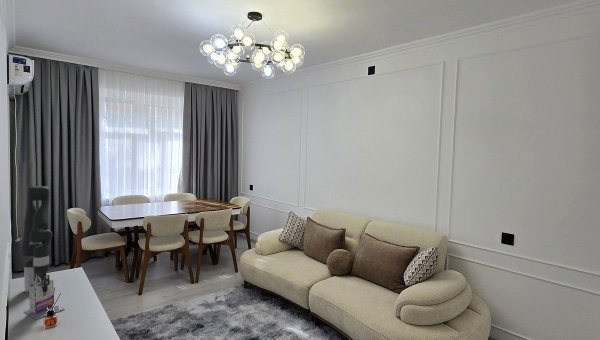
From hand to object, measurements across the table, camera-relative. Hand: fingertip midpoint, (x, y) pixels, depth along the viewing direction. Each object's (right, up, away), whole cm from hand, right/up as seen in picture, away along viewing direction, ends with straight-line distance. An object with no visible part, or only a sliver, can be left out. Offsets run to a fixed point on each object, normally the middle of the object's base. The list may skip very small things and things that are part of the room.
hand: (41, 290), depth 195 cm
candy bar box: (-1, -12, +1) cm, 12 cm away
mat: (+2, -12, -1) cm, 12 cm away
